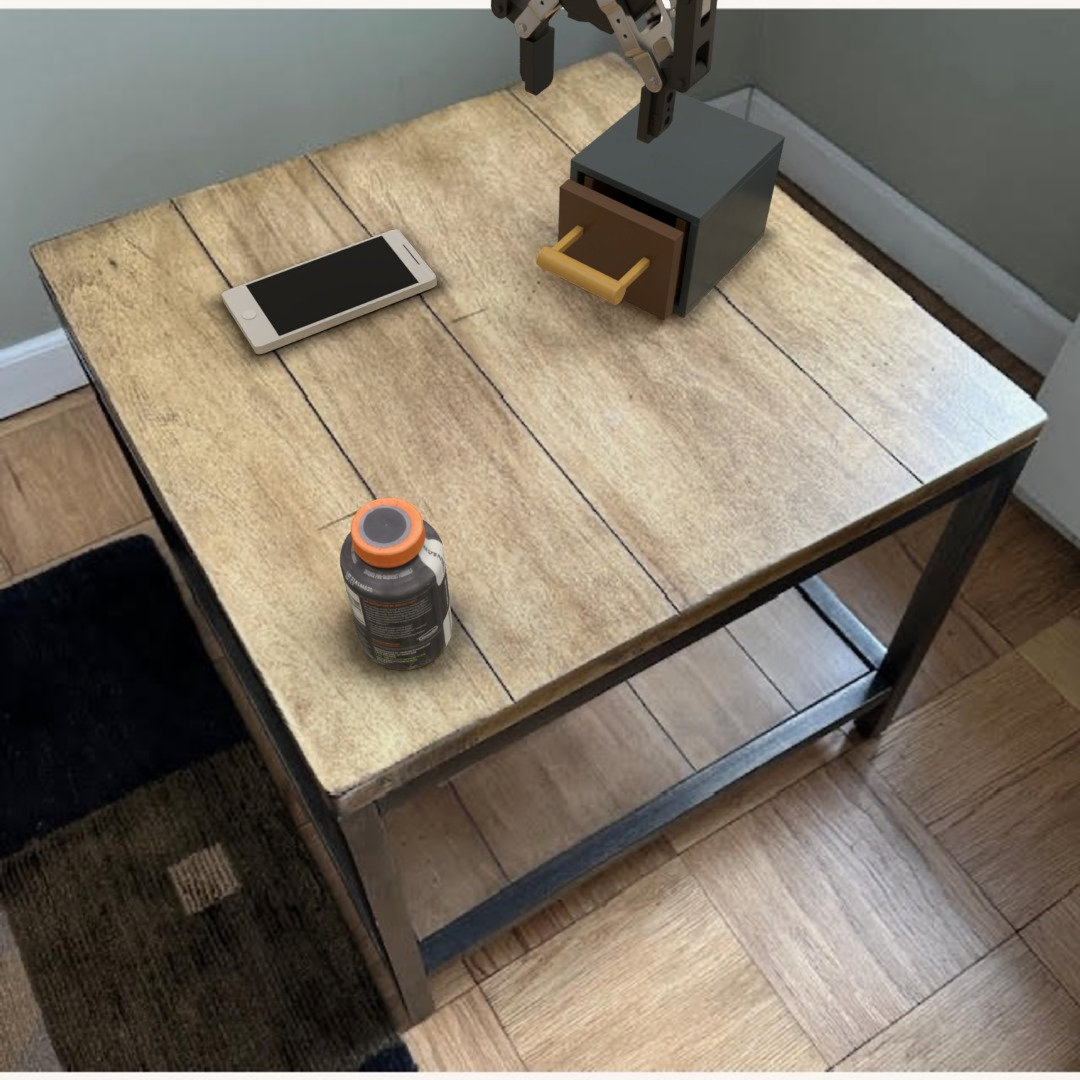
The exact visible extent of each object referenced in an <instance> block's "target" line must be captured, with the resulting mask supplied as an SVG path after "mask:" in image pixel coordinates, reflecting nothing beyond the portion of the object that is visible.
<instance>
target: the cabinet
mask: <svg viewBox="0 0 1080 1080" xmlns="http://www.w3.org/2000/svg"><path fill="white" fill-rule="evenodd" d="M639 107H640V102H638V103H637V104H636V105H635V106H633V107H632V108H631V109H630V110H629V111H627V112H626V113H625V114H623V116H621V117H620V118H619V119H617V121H615V122H614V123H613V124H611V126H610V127H608V128H606V130H605V131H603V132H602V133H601V134H600V135H598V136H597V137H596V138H595V139H594V140H593V141H591V142H590V143H589V144H588V145H587V146H585V147H584V148H583V149H581V150H580V151H579V152H578V153H577V154H576V155H574V156H573V157H572V158H571V159H570V168H569V179H570V180H572V181H574V182H576V183H579V184H581V185H583V186H584V184H585V175H586V174H587V175H589V176H591V177H593V178H595V179H598V180H600V181H602V182H604V183H606V184H608V185H611V186H613V187H615V188H617V189H619V190H621V191H624V192H626V193H628V194H630V195H632V196H635V197H637V198H639V199H641V200H643V201H645V202H648V203H650V204H652V205H654V206H656V207H658V208H661V209H663V210H665V211H667V212H669V213H672V214H674V215H676V216H678V217H680V218H682V219H685V220H687V221H689V222H691V226H690V233H689V239H688V246H687V253H686V260H685V266H684V273H683V280H682V287H681V293H680V294H679V295H678V296H677V297H676V298H674V304H673V311H672V312H674V313H675V314H678V315H680V316H681V317H684V318H685V317H686V316H687V315H688V314H689V313H690V312H691V311H692V310H693V309H694V308H695V307H696V306H697V305H698V304H699V303H700V302H701V301H702V300H703V299H704V298H705V297H706V296H707V295H708V293H710V292H711V290H712V289H714V288H715V286H716V285H717V284H718V283H719V282H720V281H721V280H722V279H723V278H724V277H725V276H726V275H727V274H728V273H729V272H730V271H731V270H732V269H733V268H734V267H735V266H736V265H737V264H738V263H739V262H740V261H741V260H742V259H743V258H744V257H745V256H746V254H747V253H748V252H749V251H751V249H752V248H753V247H754V246H755V245H756V244H757V243H758V242H759V241H760V240H761V239H762V238H763V237H764V235H765V233H766V227H767V224H768V218H769V213H770V209H771V204H772V199H773V195H774V191H775V186H776V181H777V178H778V177H777V176H778V172H779V167H780V162H781V158H782V153H783V147H784V144H785V140H786V136H785V135H783V134H780V133H777V132H776V131H773V130H770V129H768V128H766V127H763V126H760V125H758V124H756V123H753V122H751V121H748V120H746V119H744V118H741V117H738V116H737V115H734V114H733V113H730V112H727V111H725V110H722V109H720V108H717V107H715V106H712V105H710V104H709V103H708V104H707V103H705V102H704V101H701V100H698V99H695V98H693V97H691V96H688V95H686V94H684V93H680V92H678V91H676V97H675V105H674V112H673V121H672V123H671V124H670V126H669V127H668V128H667V129H666V130H665V131H664V132H663V133H662V134H661V135H659V136H658V137H657V138H655V139H653V140H652V141H651V142H650V143H649V144H646V143H644V142H642V141H640V140H637V127H638V117H639Z"/></svg>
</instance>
